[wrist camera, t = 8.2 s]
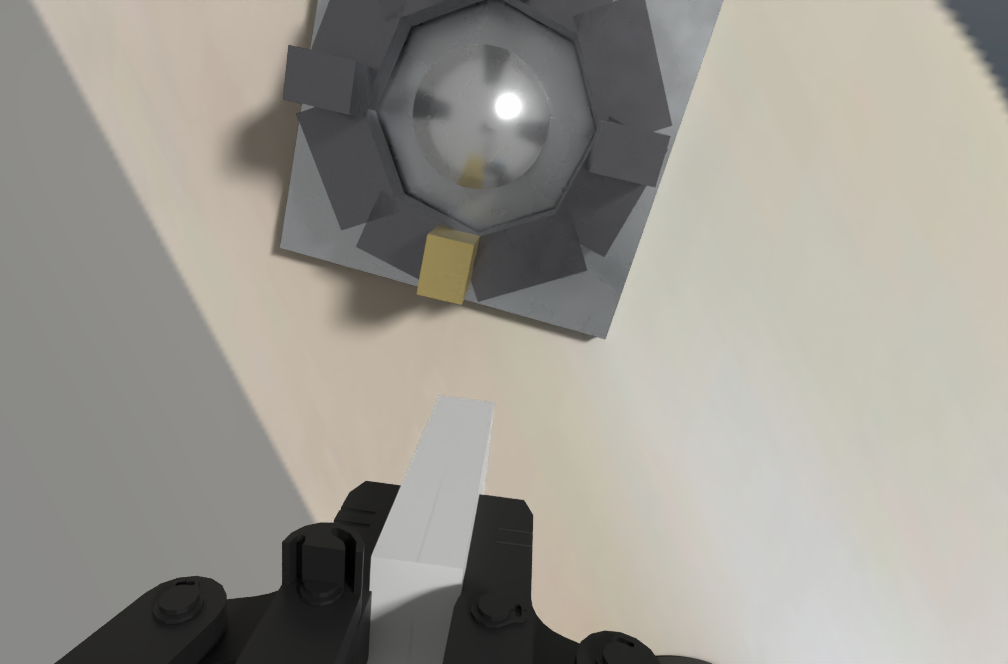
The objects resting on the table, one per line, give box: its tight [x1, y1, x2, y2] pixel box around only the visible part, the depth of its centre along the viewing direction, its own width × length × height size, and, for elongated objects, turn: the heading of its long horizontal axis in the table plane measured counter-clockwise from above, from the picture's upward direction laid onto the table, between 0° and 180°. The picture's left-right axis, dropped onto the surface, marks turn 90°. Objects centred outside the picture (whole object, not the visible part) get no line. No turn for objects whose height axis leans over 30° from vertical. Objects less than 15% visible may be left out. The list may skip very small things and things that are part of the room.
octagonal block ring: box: [283, 0, 672, 305], centre depth 31 cm, size 18×18×6 cm
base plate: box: [280, 0, 723, 339], centre depth 33 cm, size 21×21×4 cm
